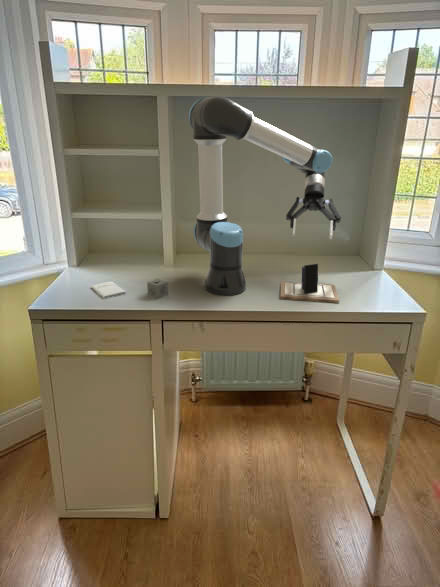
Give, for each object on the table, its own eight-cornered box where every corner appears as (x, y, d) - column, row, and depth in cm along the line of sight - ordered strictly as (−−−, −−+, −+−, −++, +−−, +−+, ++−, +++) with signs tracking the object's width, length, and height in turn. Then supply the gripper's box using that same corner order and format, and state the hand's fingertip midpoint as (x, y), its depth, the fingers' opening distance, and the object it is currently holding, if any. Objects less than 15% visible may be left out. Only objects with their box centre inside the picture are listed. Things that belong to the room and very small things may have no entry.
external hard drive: (104, 300, 145) (91, 289, 154) (126, 295, 149) (112, 284, 158) (103, 296, 144) (90, 285, 153) (125, 291, 148) (112, 280, 158)
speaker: (320, 293, 148) (321, 265, 145) (304, 294, 148) (304, 265, 144) (315, 287, 155) (316, 260, 152) (299, 288, 155) (300, 261, 152)
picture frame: (280, 298, 146) (280, 295, 146) (281, 283, 160) (281, 280, 160) (338, 303, 144) (339, 299, 143) (334, 287, 158) (334, 284, 157)
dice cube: (147, 295, 148) (147, 282, 146) (157, 291, 151) (157, 278, 149) (158, 299, 145) (157, 285, 143) (168, 294, 149) (167, 281, 147)
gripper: (345, 196, 165) (344, 243, 157) (282, 193, 168) (278, 239, 160) (349, 184, 158) (348, 232, 150) (282, 181, 162) (278, 228, 154)
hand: (312, 236), depth 155 cm, fingers open, 13 cm apart
